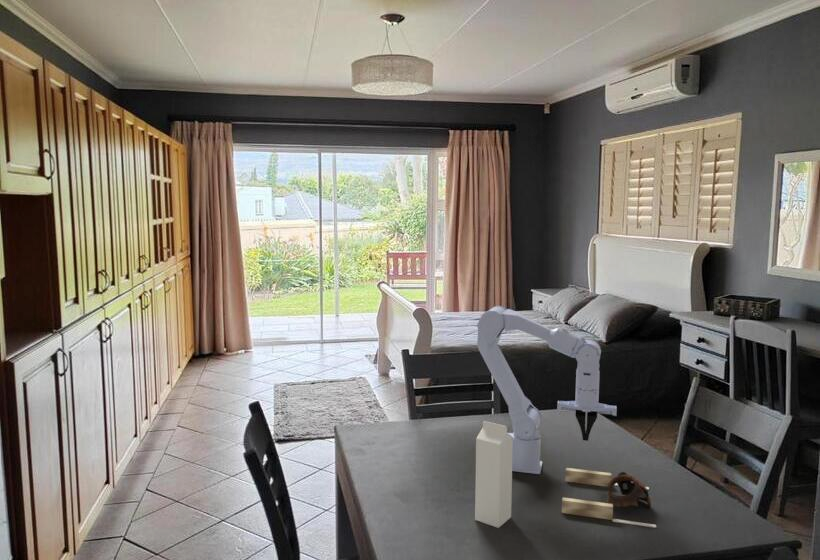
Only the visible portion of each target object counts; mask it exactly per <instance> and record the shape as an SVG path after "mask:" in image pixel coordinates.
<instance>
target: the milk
mask: <svg viewBox="0 0 820 560" xmlns="http://www.w3.org/2000/svg"><path fill="white" fill-rule="evenodd" d="M508 433H509V432H508V427H507V426H506V425H503V424H499V423H494V422H490V421H486V420H483V422H482V428H481V430H480V431H479V433H478V434H477V437H476V439H475V487H474V488H475V491H474V492H475V493H474V494H475V495H474V498H475V499H474V500H475V501H474V506H475V507H474V520H475V521H477V522H480V523H482V524H483V523H484V524H486V525H488V526H492V527H495V528H497V529H499V528H500V527H501V526H503V525H504V524H505V523H506V522H508V520H510V519H511V518H512V497H513V496H512V495H513V493H512V492H513V491H512V490H513V488H512V487H513V471H512V453H513V436H511V435H509V434H508Z"/></svg>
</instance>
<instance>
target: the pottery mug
mask: <svg viewBox="0 0 820 560" xmlns="http://www.w3.org/2000/svg"><path fill="white" fill-rule="evenodd" d="M616 483H617V484H618V486H617V487H619V491H620V492H621V495H618V494H614V493H613V492H612V488H613V486H615V485H614V484H616ZM646 487H647V486H646V485H644V483H643V482H641V481H639V480H638V479H636V478H635V477H634V476H632V475H630V474H627V472H625V471H621V472H619V473H618V474H617V475H616V476H615V477H613V478H611V481H610V482H609V483H608V486H607V487H606V489H607V494H606V503H608V504H613V507H617V508H623V507H625V508H626V507H629V506H635V507H639V505H638V501H643V502H645V503H647V506H648V508H649V510H652V501H651V498H650V496H649V490H647V489H646Z"/></svg>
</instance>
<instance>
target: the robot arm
mask: <svg viewBox="0 0 820 560" xmlns="http://www.w3.org/2000/svg"><path fill="white" fill-rule="evenodd" d="M476 327H477V343H476V347H477V349H478V351H479V353H480V355H481V357H482V359H483V360H484V363H485V364H486V366H487V368H488V370H489V372H490V374H491V376H492V378H493V379H494V381H495V383H496V386H497V388H498V389H499V391H500V393H501V395H502V397H503V400H504V401H505V403H506V405H507V407H508V414H509V418H510V420H511V425H512V426H511V427H512V431H513V432H507V433H508V434H509V435H511V436H513V453H512V472H518V473H526V474H533V475H541V471H542V467H543V464H544V463H543V461H542V460H541V439H542V438H541V437H542V436H541V435H542V433H541V432H540V430H539V426H540V425H541V423H542V413H541V411H540V410H539V409H538V408H537V407H535V406H534V405H533V403H532V401H531V400H530V399H529V398H528V397H527V396H525V394H524V392H523V389H522V388H521V385H519V384H520V383H518V380H517V378H516V377H515V375H514V373H513V370H512V369H511V367H510V365H509V363H508V361H507V360H506V358H505V356H504V354H503V352H502V350H501V348H500V346H499V341H500V338H501V337H502V333H503V331H504V332H509V331H510V332H511V331H516V330H517V331H520V332H523V333H526V334H529V335H531V336H533V337H536V338H538V339H540V340H544V341H546V343H547V345H548V348H550V349H552V350H554V351H556V352H559V353H561V354H563V355H565V356H568V357H570V358H573V359H575V360H576V362H577V365H576V366H577V367H576V369H575V371H576V372H575V375H576V377H575V397H574V398H575V400H557V406H556V409H557V411H571V412H575V418H576V420H577V422H578V426H579V427H580V431H581V437H582V441H589V438H590V434H591V431H592V428H593V426H594V424H595V422H596V421H597V419H598V414H603V415H611V416H614V417H617V411H618V409H617V405H609V404H606V403H600V402H599V398H600V397H599V395H600V361H601V354H602V349H601V345H600V344H599V343H598V342H597V341H595V340H594V339H593V338H586V336H583V335H582V336H580V335H577V334H575V333H573V332H570V331H569V328H567V327H562V328H561V327H555V328H553V329H551V328H549V327H548V326H545V325H544V324H542V323H539V322H537V321H535V320H533V319H532V318H529V317H527V316H525V315H523V314H522V313H519V312H518V311H515V310H513V309H511V308H506V307H504V306H501V305H495V306H493V307H491V308H490V309H489V310H487V311H485V312H483V313H482V314H481V316H480V318H479V320H478V322H477V325H476Z"/></svg>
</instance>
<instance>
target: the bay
mask: <svg viewBox="0 0 820 560" xmlns="http://www.w3.org/2000/svg"><path fill="white" fill-rule="evenodd" d="M613 486H615V487H616V486H617V487H619V486H618V484H617V483H616V484H614V485H613ZM645 487H646V489H647V491H649V490H650V488H649V486H645ZM612 522H614V523H621V524H627V525H633V526H640V527H641V526H642V527H647V528H657V525H656V524H653V523H645V522H639V521H632V520H626V519H617V518H613V520H612Z"/></svg>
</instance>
